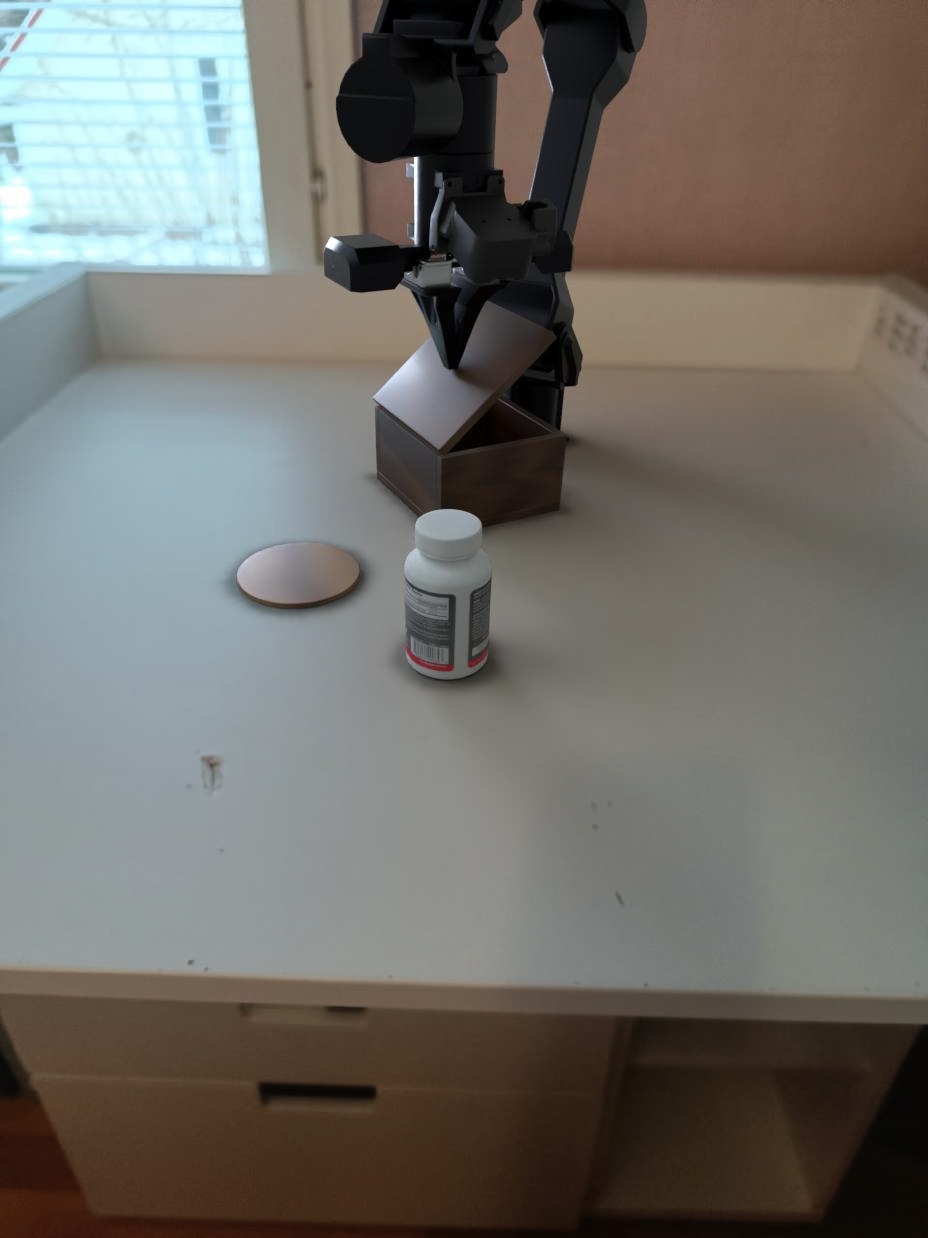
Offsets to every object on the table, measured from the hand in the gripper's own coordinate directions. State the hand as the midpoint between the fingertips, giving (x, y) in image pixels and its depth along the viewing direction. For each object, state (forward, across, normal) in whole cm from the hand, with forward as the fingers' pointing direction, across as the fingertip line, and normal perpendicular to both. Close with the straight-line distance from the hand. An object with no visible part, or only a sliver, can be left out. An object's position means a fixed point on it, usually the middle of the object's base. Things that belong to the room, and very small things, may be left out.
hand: (450, 368), depth 71 cm
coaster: (+11, -16, -7) cm, 21 cm away
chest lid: (+1, +1, 0) cm, 1 cm away
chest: (+11, +2, 0) cm, 12 cm away
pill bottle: (+12, -11, -21) cm, 27 cm away
